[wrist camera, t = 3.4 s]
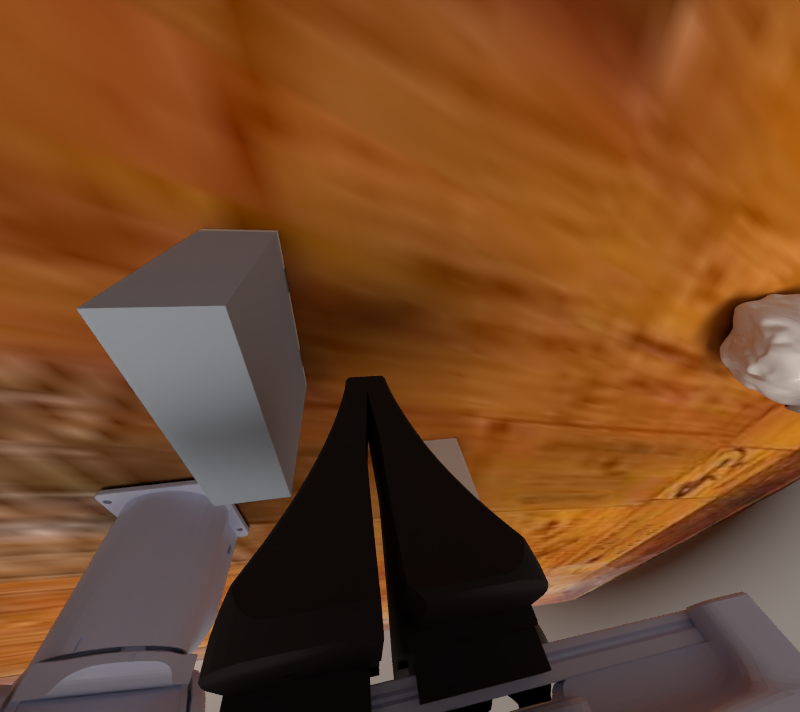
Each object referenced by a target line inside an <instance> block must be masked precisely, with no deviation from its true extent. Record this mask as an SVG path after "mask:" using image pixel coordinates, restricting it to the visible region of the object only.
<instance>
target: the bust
mask: <svg viewBox="0 0 800 712" xmlns="http://www.w3.org/2000/svg"><path fill="white" fill-rule="evenodd" d="M720 358H721V361H722V362H723V364H724V365H725V366H726V367H727V368H728V369H730V371H731V372H732V374H733V376H734V377H735V378H736V379H737V380H738V381H739V382H741V383H742V384H743V385H744V386H745V387H747V388H749V389H753V390H756V391H758V392H760V393H762V394H763V395H764V396H766V397H768V398H770V399H771V400H773V401H775V402H778V403H781V404H786V405H798V406H800V294H789V295H781V294H769V295H767V296H766V297H764V298H762V299H760V300H757V301H750V302H745V303H742V304H740V305H738V306H737V307H736V308H735V309H734V316H733V329H732V330H731V332H730V334H729V335H728V337H727V338H726V339H725V340H724V341H723V343H722V345H721V347H720Z"/></svg>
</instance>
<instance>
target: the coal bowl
mask: <svg viewBox="0 0 800 712" xmlns="http://www.w3.org/2000/svg"><path fill="white" fill-rule="evenodd" d="M535 629H536V631H537V634H538V636H539V639H540V641H541V644H545V643H548V641H547V639H546V637H545V635H544V633H543V631H542V629H541V628H540V626H539V625H536V626H535ZM508 696H509V697H511V698H512V699H513V700H514V701H515V702H517V703H518V705H519V709H520V708H524V707H527V706H531V705H535V704H539V703H544V702H548V701H551V684H548V685H544V686H540V687H536V688H532V689H529V690H525V691H521V692H517V693H514V694H510V695H508ZM491 706H492V699H491V700H487V701H484V702H480V703H476V704H472V705H469V706H465V707H461V708H457V709H454V710H450V711H446V712H489V711H490V710H491Z"/></svg>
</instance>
